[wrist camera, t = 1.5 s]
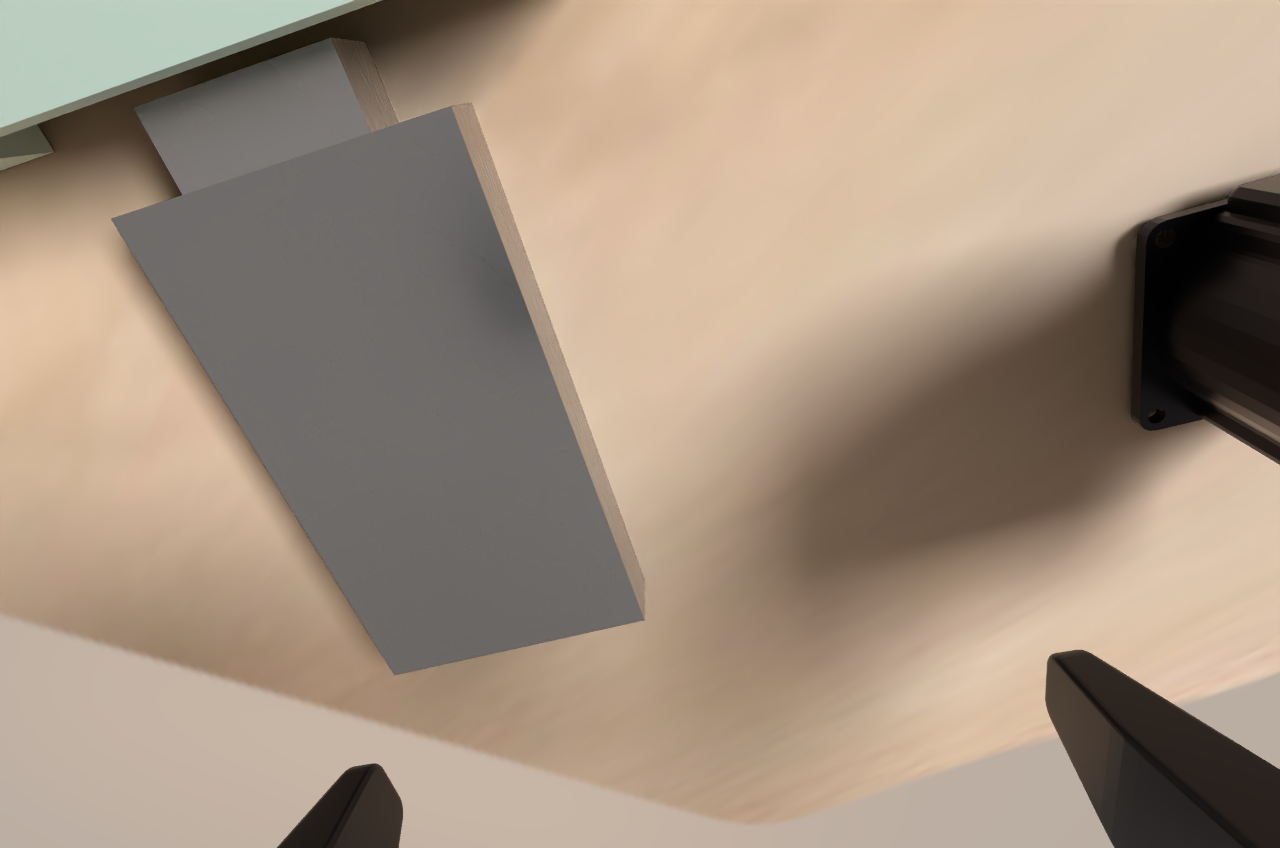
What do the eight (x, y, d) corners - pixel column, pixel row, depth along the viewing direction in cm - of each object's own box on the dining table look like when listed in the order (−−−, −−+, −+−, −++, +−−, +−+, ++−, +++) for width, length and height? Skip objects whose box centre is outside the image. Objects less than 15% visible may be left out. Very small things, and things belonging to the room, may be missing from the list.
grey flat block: (644, 576, 25) (644, 620, 23) (413, 629, 26) (394, 675, 24) (440, 15, 17) (414, 7, 15) (122, 127, 18) (58, 133, 16)
